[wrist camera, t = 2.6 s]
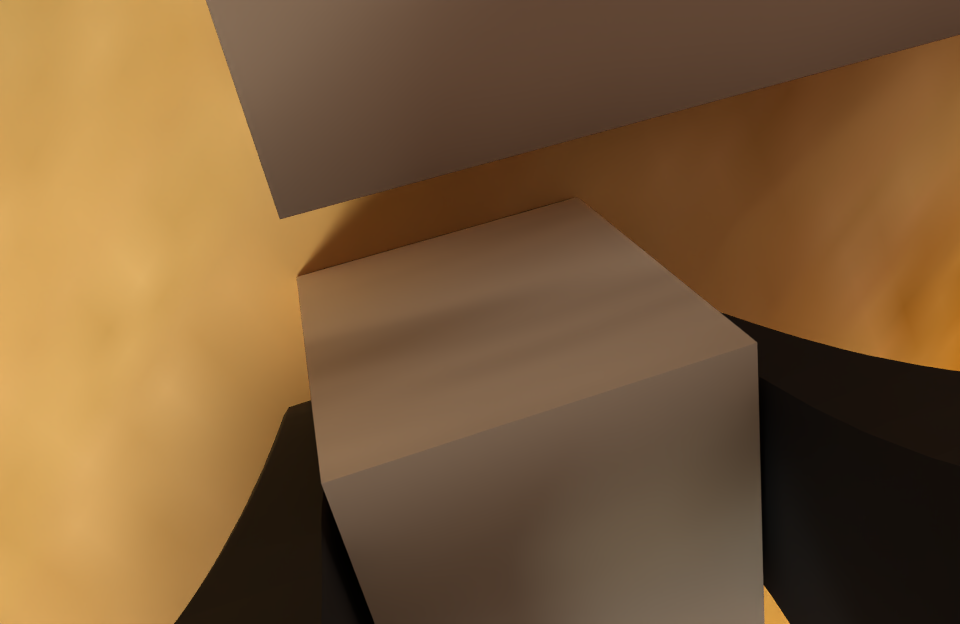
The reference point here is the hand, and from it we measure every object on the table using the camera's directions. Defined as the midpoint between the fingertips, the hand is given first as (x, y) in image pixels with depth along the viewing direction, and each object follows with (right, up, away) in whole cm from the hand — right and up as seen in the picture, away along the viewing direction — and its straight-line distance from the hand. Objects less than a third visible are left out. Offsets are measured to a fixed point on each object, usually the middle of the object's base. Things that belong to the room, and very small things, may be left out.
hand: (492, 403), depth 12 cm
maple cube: (0, +1, +1) cm, 1 cm away
